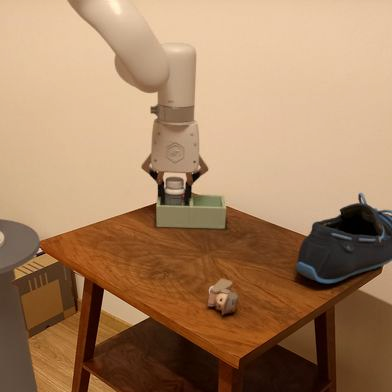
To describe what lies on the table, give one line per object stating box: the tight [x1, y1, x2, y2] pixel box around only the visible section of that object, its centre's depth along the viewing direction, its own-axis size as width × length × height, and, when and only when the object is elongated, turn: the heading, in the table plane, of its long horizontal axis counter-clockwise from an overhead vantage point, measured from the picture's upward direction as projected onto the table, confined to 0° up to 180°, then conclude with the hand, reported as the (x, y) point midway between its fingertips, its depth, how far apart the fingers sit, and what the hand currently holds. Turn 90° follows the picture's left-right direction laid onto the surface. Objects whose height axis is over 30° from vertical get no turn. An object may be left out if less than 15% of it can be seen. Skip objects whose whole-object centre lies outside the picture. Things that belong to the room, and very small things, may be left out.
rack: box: [155, 193, 227, 230], centre depth 117 cm, size 15×8×5 cm, turn 91°
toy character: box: [207, 278, 240, 316], centre depth 87 cm, size 4×8×6 cm
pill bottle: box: [164, 176, 185, 206], centre depth 115 cm, size 5×5×8 cm
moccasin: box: [294, 192, 392, 285], centre depth 101 cm, size 14×34×12 cm, turn 142°
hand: (174, 199), depth 115 cm, fingers closed on pill bottle, 4 cm apart
